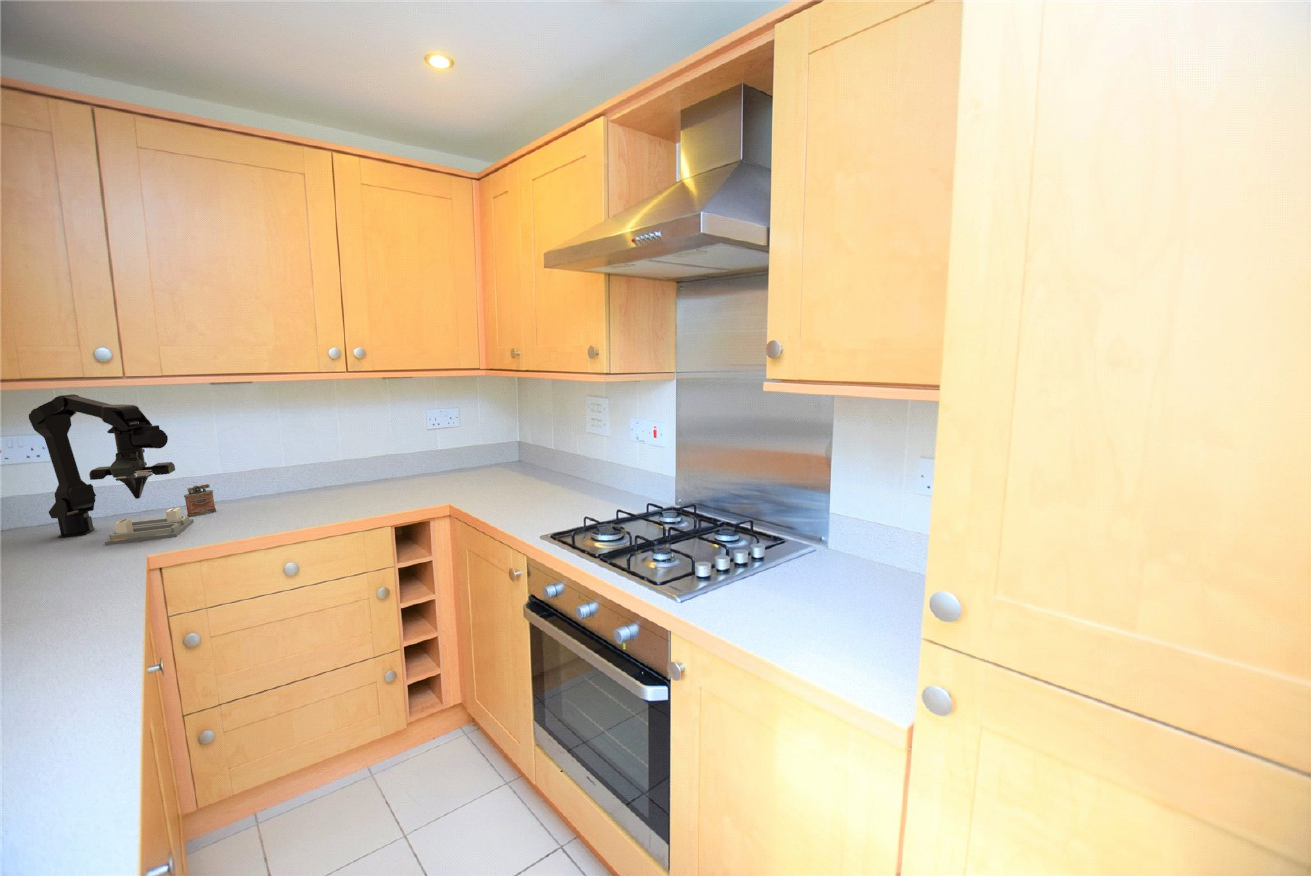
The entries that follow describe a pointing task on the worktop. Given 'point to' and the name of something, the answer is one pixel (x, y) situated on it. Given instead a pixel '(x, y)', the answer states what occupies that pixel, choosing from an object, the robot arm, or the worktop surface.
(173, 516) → the tab
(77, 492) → the robot arm
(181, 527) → the switch bank
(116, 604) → the worktop surface
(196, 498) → the lighter
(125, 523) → the tab
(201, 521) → the worktop surface
